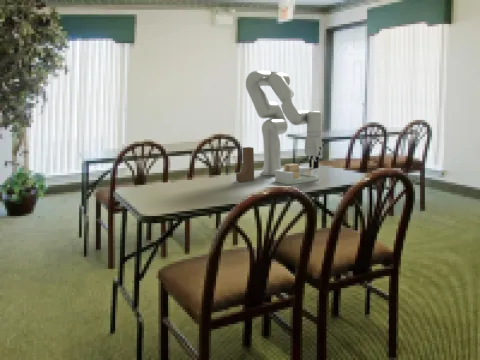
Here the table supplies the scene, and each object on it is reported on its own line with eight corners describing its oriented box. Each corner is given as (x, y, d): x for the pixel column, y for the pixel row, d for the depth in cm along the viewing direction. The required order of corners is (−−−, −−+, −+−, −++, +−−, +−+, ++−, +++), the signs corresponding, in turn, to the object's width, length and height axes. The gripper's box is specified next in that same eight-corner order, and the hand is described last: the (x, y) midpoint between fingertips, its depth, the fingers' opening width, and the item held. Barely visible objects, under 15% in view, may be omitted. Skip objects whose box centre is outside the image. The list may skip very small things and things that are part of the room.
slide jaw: (296, 173, 268) (296, 158, 267) (308, 172, 273) (308, 156, 271) (310, 176, 258) (310, 160, 257) (323, 174, 263) (323, 158, 261)
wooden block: (240, 182, 260) (239, 149, 257) (236, 181, 264) (235, 148, 260) (254, 180, 264) (253, 147, 261) (250, 179, 268) (249, 146, 265)
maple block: (284, 177, 260) (284, 164, 258) (293, 176, 263) (293, 163, 261) (290, 178, 255) (290, 165, 254) (299, 177, 259) (299, 164, 257)
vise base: (275, 181, 261) (275, 170, 260) (304, 176, 271) (304, 166, 270) (289, 184, 251) (289, 173, 250) (318, 179, 261) (318, 168, 260)
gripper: (298, 133, 268) (299, 166, 271) (318, 135, 254) (318, 170, 258) (309, 132, 272) (309, 165, 275) (329, 134, 258) (329, 169, 262)
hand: (313, 167), depth 266 cm, fingers closed on slide jaw, 2 cm apart
